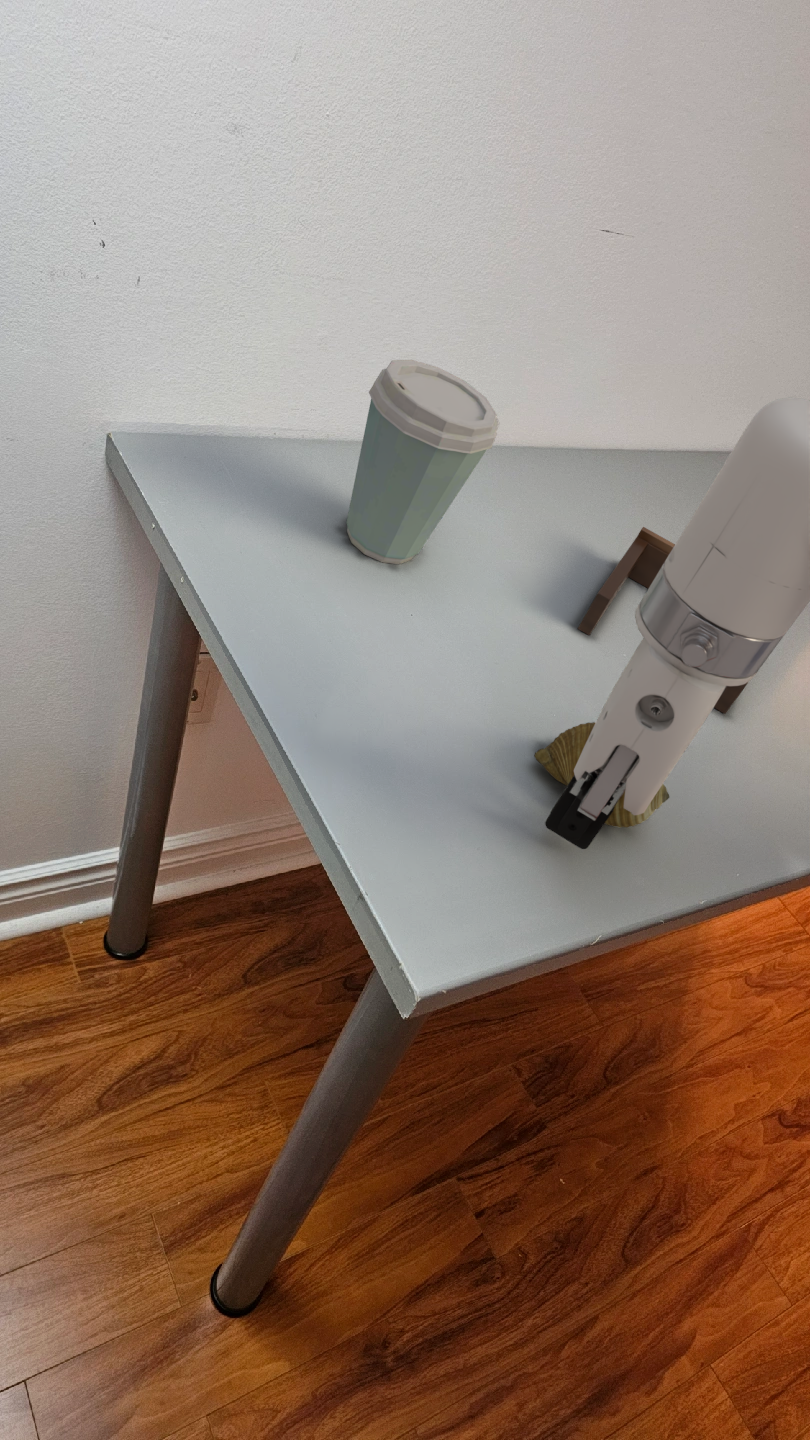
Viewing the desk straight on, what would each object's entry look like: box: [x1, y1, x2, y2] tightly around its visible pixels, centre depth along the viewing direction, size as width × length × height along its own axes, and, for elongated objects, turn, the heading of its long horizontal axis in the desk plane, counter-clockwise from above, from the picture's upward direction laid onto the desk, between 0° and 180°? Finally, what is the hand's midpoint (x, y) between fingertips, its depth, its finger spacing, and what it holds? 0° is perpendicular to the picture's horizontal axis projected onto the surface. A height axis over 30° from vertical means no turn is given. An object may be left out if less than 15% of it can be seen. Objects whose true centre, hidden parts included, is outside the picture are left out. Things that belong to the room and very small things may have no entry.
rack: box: [577, 526, 749, 714], centre depth 94 cm, size 14×14×5 cm
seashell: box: [533, 721, 670, 829], centre depth 75 cm, size 10×7×8 cm
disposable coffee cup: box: [345, 359, 500, 565], centre depth 86 cm, size 11×11×15 cm
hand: (567, 831), depth 70 cm, fingers closed
